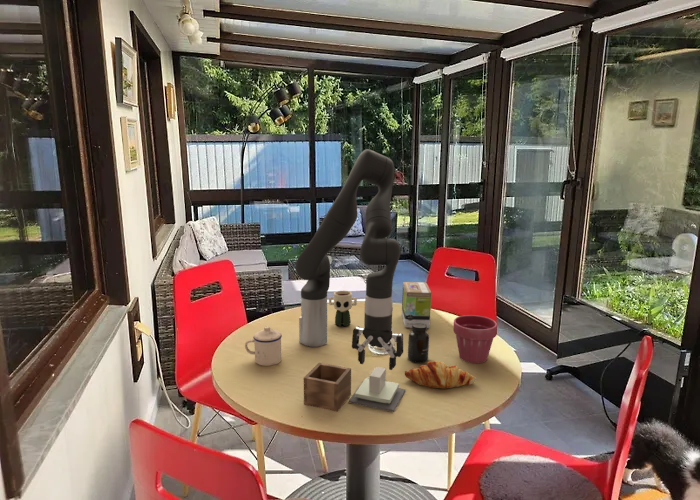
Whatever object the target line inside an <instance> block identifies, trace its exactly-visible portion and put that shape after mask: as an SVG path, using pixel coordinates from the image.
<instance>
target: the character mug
mask: <svg viewBox="0 0 700 500" xmlns="http://www.w3.org/2000/svg"><path fill="white" fill-rule="evenodd" d="M332 300H333V302H332ZM357 300H358V299H357V297H353V293H352V291H349V290H336V291H334V292H333V296H329V297H328V304H329V306H333V307H334V309H335V310H336V312H335V318H334V323H335V326H341V327H342V325H343V327H344V326H350V325H351V321H352V320H351V314H350V311H349V310H352V307H353V306H354V307H356V306H357V304H358V303H357V302H358V301H357Z"/></svg>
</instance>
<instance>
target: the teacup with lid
mask: <svg viewBox="0 0 700 500" xmlns="http://www.w3.org/2000/svg"><path fill="white" fill-rule="evenodd" d="M282 337H283V336H282V333H281V332H280V331H279V330H278V329H273V328H271V326H264V329H262V330H258V331H256V332H255V333H254V334H253V337H252V339H248V340H246V342H245V343H244V349H245V351H246V352H247V353H248V354H250V355H254V361H255V363H256V364H257V365H260V366H263V367H264V366H265V367H270V366H276V365H277V364H279V363H280V362H281V361H282V358H283V357H282ZM249 343H254V344H253V345H254V346H253V347H254V351H253V350H250V349H249V347H248V344H249Z"/></svg>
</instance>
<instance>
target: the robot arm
mask: <svg viewBox="0 0 700 500" xmlns="http://www.w3.org/2000/svg"><path fill="white" fill-rule="evenodd" d="M354 162H355V163H354V164H353V167H352V169H351V170H350V173H349V174H348V176H347V178H346V181H345V182H344V184H343V186H342V188H341V190H340V191H339V194H338V195H337V196H336V198H335V200H334V202H333V203H332V205H331V206H330V208H329V209H328V211H327V213H326V215H325V217H324V218H323V220H322V222H321V224H320V225H319V226H318V228H317V230H316V232H315V233H314V235H313V237H312V238H311V240H310V241H309V243H308V244H307V245H306V247H305V248H304V250H303V251H302V252H300V254H299V256H298V257H297V259H296V262H295V273H296V275H297V277H299V279H301V280H304V281H306V283H305V284H304V285H303V287H302V288H301V290H300V306H301V307H300V311H301V314H300V315H301V316H299V318H298V327H299V329H298V330H299V331H298V332H299V333H298V334H299V335H298V336H299V337H298V338H299V340H298V343H300V344H303V346H305V347H313V348H315V347H322V346H325V345H326V344H327V343H328V290H329V288H330V283H331V281H330V280H331V279H330V277H331V262H330V258H329V256H328V253H329V252H330V251H331V250H332V249H333V248H335V246H337V245H338V244H339V243H340V242H341V241H342V240H343V239H344V238H346V236H347V235H348V234H349V233H350V231H351V229H352V228H353V226H354V224H355V223H356V221H357V218H358V202H357V192H358V188H359V186H360V184H361V182H362V181H364V182H366V183H368V184H371V185H372V186H373V185H374V186H377V190H378V191H377V194H376V195H375V196H374V197H373V198H372V199H371V200H370V201H369V202H368V204H367V206H366V209H365V234H364V237H363V239H362V244H361V246H360V249H359V250H360V251H359V256H360V259H361V261H362V262H363V263H364V264H365V265H368V266H384V268H382V269H381V270H378V271H374V272H371V273H369V274H367V276H366V279H365V280H366V282H365V300H364V321H363V322H364V323H363V324H364V325H363V326H364V327H362V328H361V327H360V326H359V325H356V326H355V327H354V328H353V329H352V339H351V348H352V349H353V350H354V349H355V350H357V361H358V363H359V364H360V365H364V363H365V362H366V361H365V360H366V349H365V348H366V347H367V346H368V345H370V347H377V348H380V349H382V348H383V349H384V350H385V352H387V353H388V355H389V360H388V361H389V362H388V369H389V370H390V371H392V370H393V369H394V368H396V365H397V357H398V358H400V357H401V356H402V355H403V354H404V334H403V333H402V332H400V333H393V330H392V329H393V309H394V307H393V306H394V305H393V304H394V303H393V280H394V276H395V275H394V274H395V272H396V269H397V265H398V262H399V259H400V257H401V245H400V243H399V242H398V241H397V239H395V238H388V237H389V236H390V235H391V233H392V215H391V200H392V195H393V194H392V193H393V187H394V185H393V184H394V178H395V177H394V175H395V166H394V164H395V163H394V162H393V160H392V159H391V158H389V157H388V156H385V155H383V154H381V153H379V152H376V151H374V150H371V149H368V148H366V149H363V151H361V153H360V154H359V155H358V157H357V159H356V160H355V161H354ZM361 335H363V337H364V338H365V340H364V342H363V343H361V344H360V336H361ZM392 339H393V340H394V342H395V345H396V348H395V346H394V344H393V342H392V341H391V340H392Z"/></svg>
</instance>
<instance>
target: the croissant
mask: <svg viewBox="0 0 700 500" xmlns="http://www.w3.org/2000/svg"><path fill="white" fill-rule="evenodd" d="M404 376H405V378H407V379H408V380H410V381H413V382H414V383H416V384H418V385H420V386H425V387H429V388H434V389H452V388H454V387H456V388H459V387H463V386H464V385H465V386H470V385H473V384H475V383H476V381H477V378H476V377H475V376H473V375H472V374H471V373H469V372H468V371H463V370H462V369H460V368H459V367H458V366H457V365H449V366H447V365H446V364H445V362H442V361H439V360H430V361H428V362H427V363H426V364H422V365H421V364H420V366H418V368H415V367H414V368H410V369H409V370H404Z"/></svg>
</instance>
